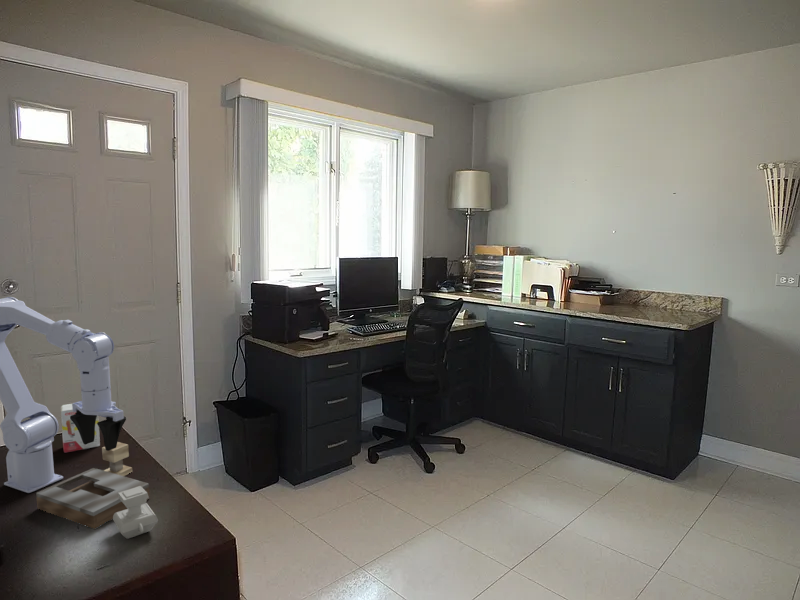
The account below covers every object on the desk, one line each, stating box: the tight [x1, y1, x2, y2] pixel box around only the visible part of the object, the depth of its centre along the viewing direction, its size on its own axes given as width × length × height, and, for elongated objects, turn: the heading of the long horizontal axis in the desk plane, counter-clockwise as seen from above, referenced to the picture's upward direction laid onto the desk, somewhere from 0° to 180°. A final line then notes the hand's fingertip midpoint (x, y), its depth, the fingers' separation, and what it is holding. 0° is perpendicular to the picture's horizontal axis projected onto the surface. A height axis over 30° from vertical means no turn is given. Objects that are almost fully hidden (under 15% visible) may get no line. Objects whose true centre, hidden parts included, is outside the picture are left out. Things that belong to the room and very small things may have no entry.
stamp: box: [112, 486, 159, 540], centre depth 102 cm, size 9×7×8 cm
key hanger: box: [101, 441, 133, 477], centre depth 125 cm, size 5×5×7 cm
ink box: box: [60, 403, 101, 453], centre depth 140 cm, size 9×5×12 cm, turn 124°
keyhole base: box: [35, 467, 151, 530], centre depth 112 cm, size 18×13×4 cm
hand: (99, 445), depth 117 cm, fingers open, 7 cm apart
